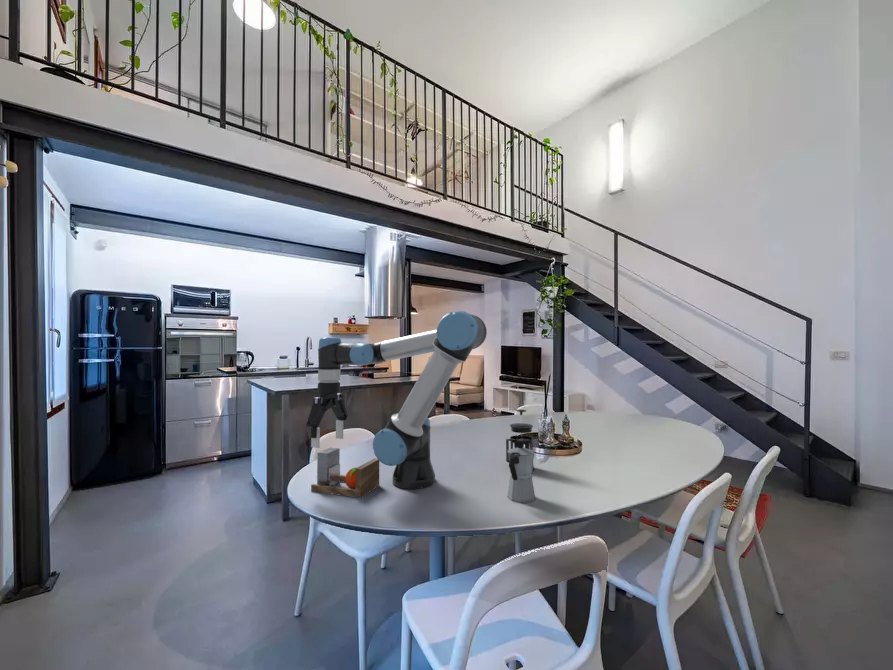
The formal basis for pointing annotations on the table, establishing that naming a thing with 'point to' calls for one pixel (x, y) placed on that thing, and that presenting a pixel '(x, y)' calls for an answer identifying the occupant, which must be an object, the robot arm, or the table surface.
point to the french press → (520, 429)
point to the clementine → (351, 478)
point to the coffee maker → (521, 474)
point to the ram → (328, 467)
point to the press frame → (356, 481)
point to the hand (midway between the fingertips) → (327, 442)
